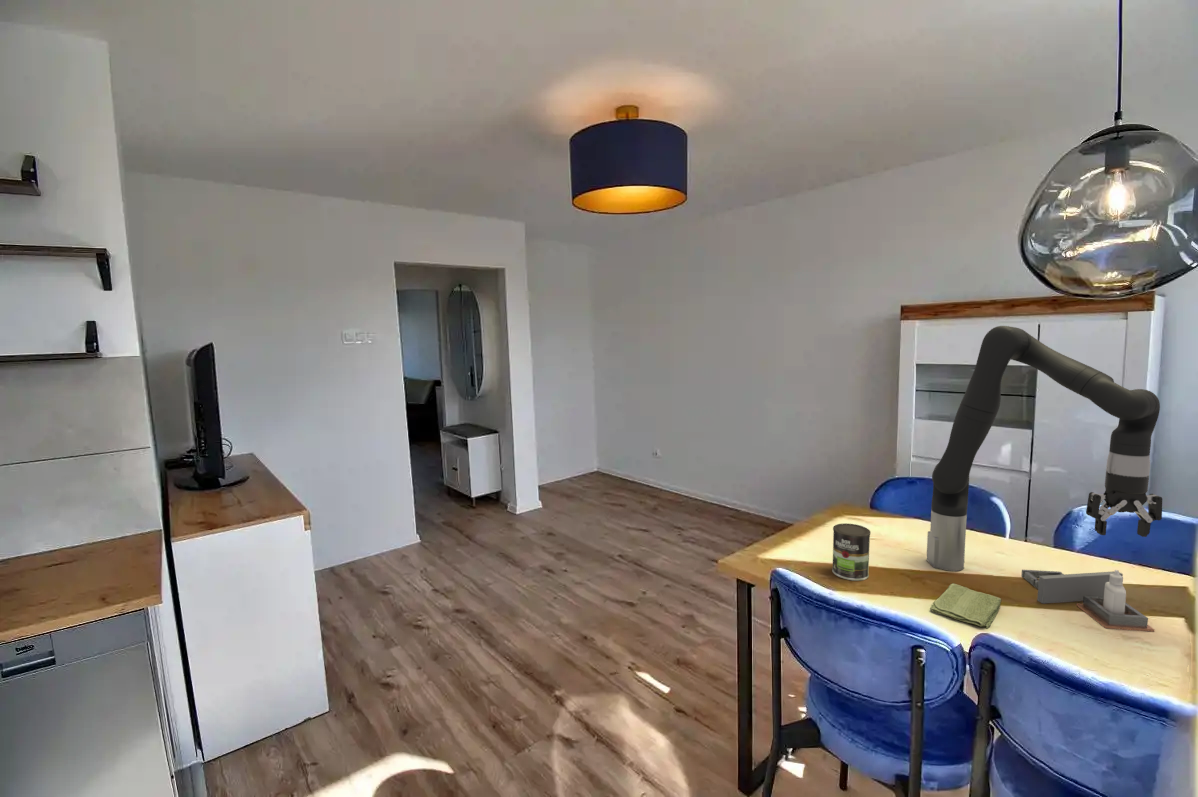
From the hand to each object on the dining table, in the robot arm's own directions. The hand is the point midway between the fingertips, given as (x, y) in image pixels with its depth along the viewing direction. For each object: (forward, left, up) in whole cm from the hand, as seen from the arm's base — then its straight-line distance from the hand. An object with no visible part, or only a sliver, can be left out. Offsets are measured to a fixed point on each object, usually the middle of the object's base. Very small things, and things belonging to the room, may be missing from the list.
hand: (1121, 534), depth 133 cm
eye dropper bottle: (0, 0, -22) cm, 22 cm away
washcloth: (-33, -1, -23) cm, 40 cm away
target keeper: (0, 0, -22) cm, 22 cm away
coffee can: (-58, +17, -22) cm, 64 cm away
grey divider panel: (-2, +9, -22) cm, 24 cm away
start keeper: (-5, +18, -22) cm, 29 cm away
